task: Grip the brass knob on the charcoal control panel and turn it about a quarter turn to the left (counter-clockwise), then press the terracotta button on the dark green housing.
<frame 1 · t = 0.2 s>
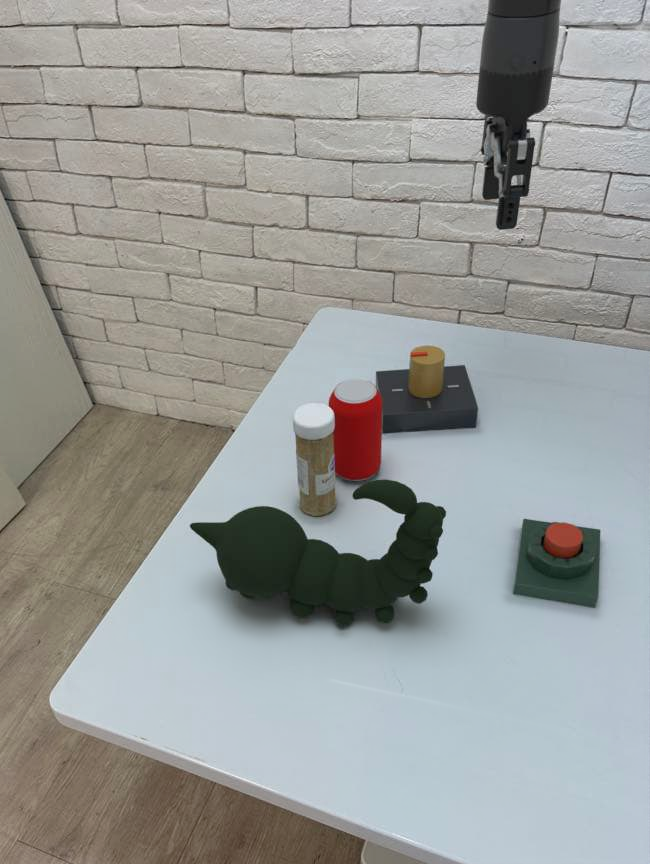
hand: (498, 212, 95), 23 cm above the table, tool pointing down, fingers open, 8 cm apart
button: (562, 540, 83), point 4 cm above the table, slide at 0.2 cm
button box: (556, 566, 86), on the table
beverage can: (355, 470, 100), on the table
knob: (426, 370, 104), point 6 cm above the table, hinge at 0.0°
panel: (423, 407, 108), on the table
spice jar: (317, 505, 96), on the table
toy figurine: (313, 600, 86), on the table
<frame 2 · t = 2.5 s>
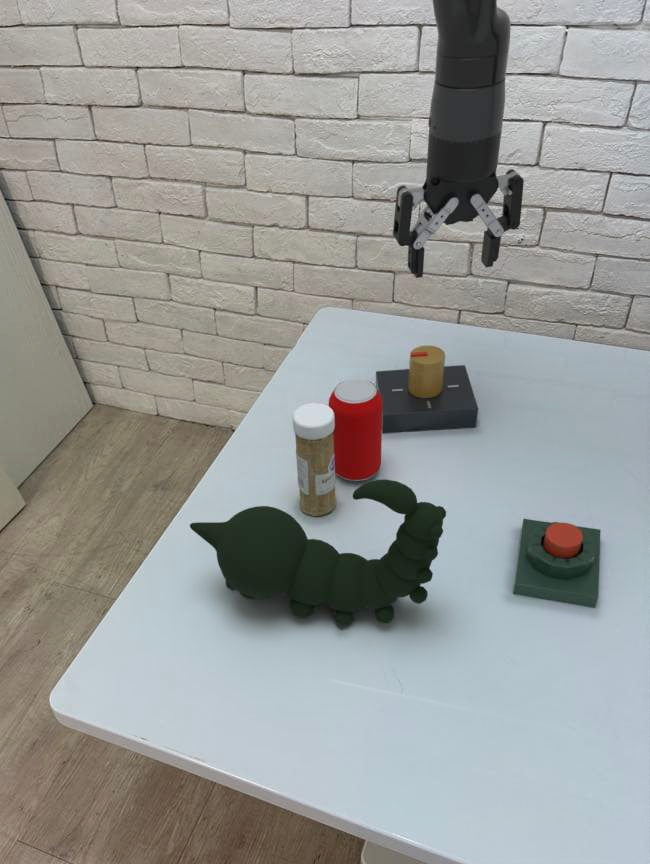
hand: (452, 269, 96), 18 cm above the table, tool pointing down, fingers open, 8 cm apart
nothing on the table moved.
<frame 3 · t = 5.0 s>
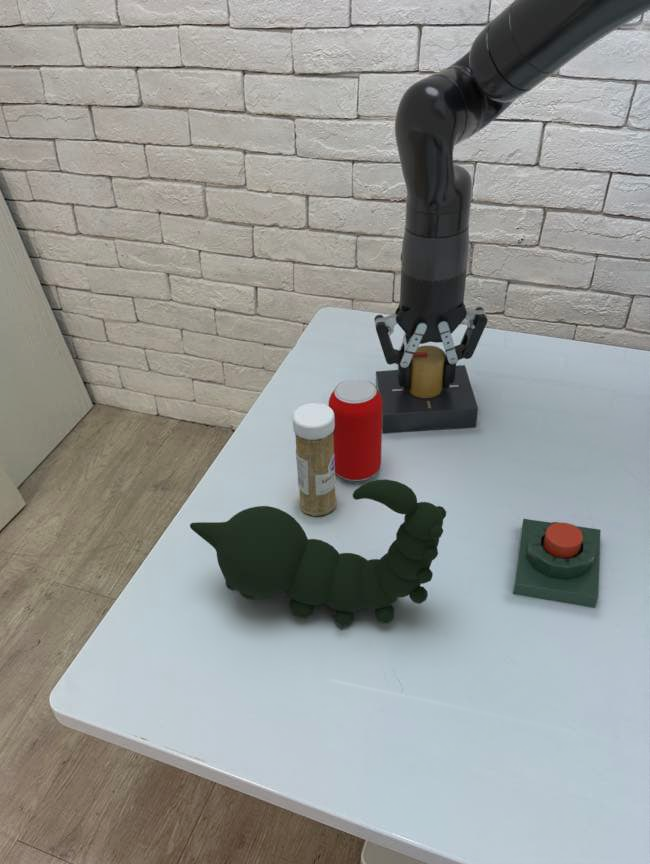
hand: (425, 385, 105), 4 cm above the table, tool pointing down, fingers closed on knob, 4 cm apart
knob: (426, 370, 104), point 6 cm above the table, hinge at 0.0°, touching gripper
everything else where it was.
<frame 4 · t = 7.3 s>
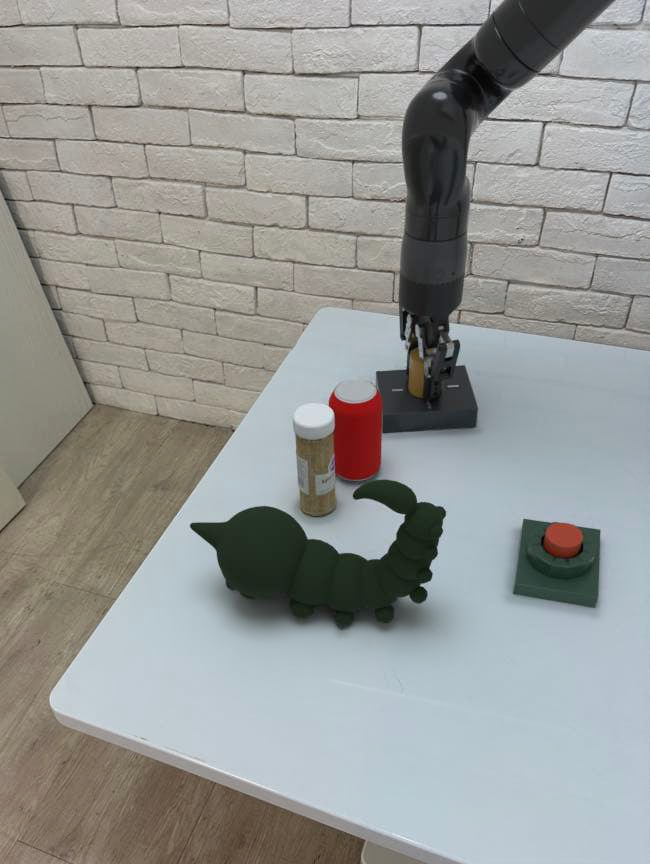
hand: (422, 386, 106), 3 cm above the table, tool pointing down, fingers open, 5 cm apart
knob: (426, 370, 104), point 6 cm above the table, hinge at 107.6°
everything else where it was.
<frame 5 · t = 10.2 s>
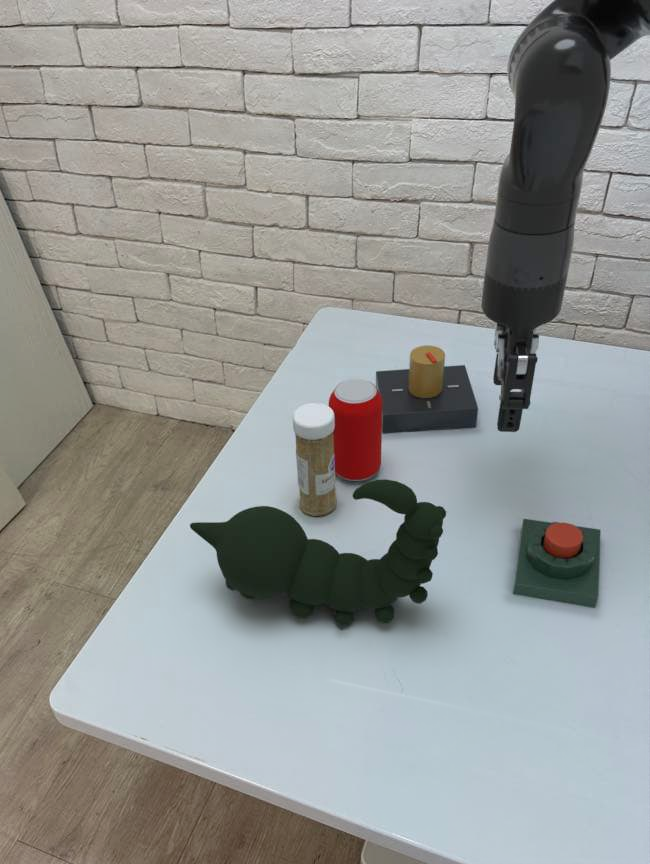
hand: (505, 405, 87), 12 cm above the table, tool pointing down, fingers open, 8 cm apart
nothing on the table moved.
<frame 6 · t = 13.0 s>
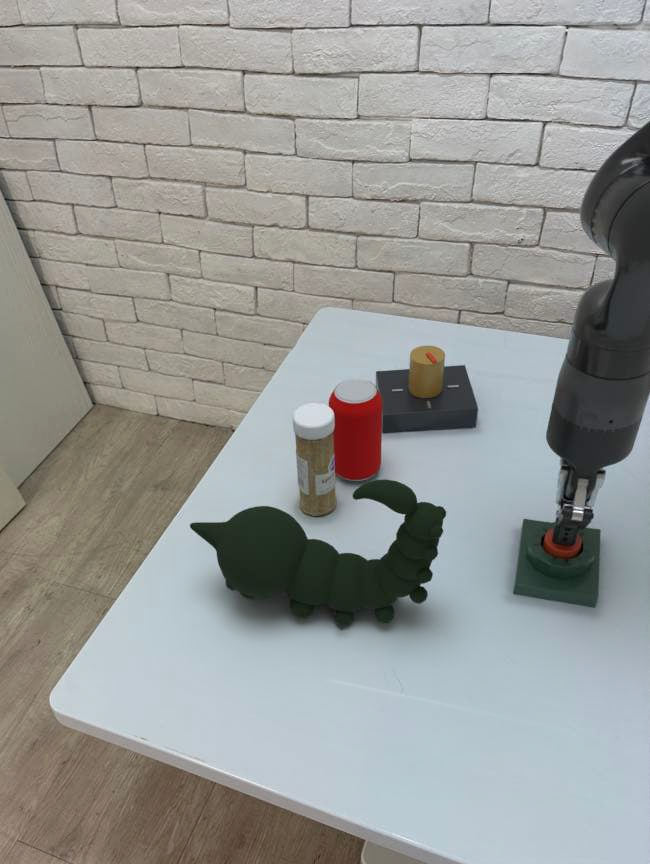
hand: (563, 539, 83), 4 cm above the table, tool pointing down, fingers closed
button: (561, 545, 83), point 3 cm above the table, slide at -0.5 cm, touching gripper
everything else where it was.
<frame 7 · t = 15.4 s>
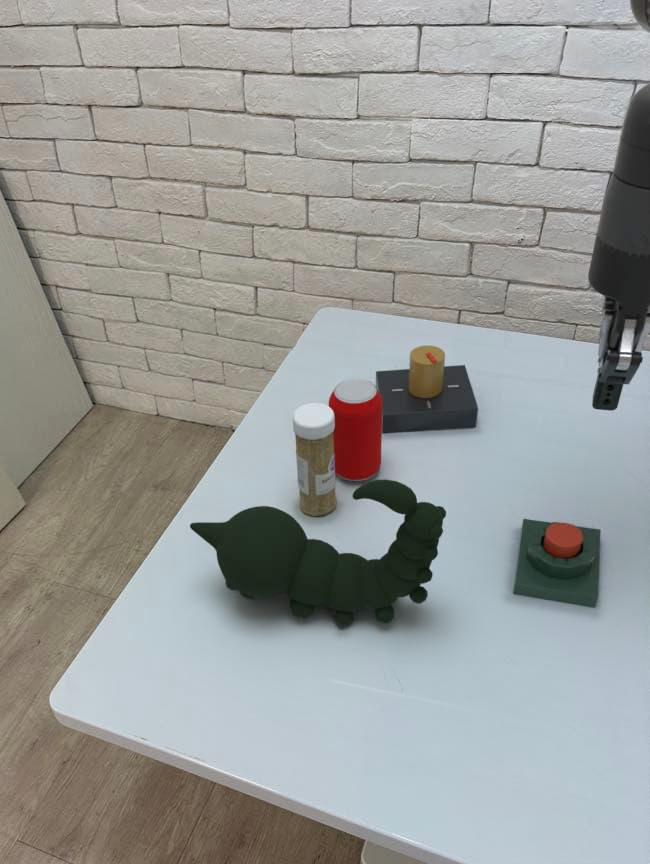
hand: (603, 405, 76), 17 cm above the table, tool pointing down, fingers closed
button: (562, 540, 83), point 4 cm above the table, slide at 0.2 cm
everything else where it was.
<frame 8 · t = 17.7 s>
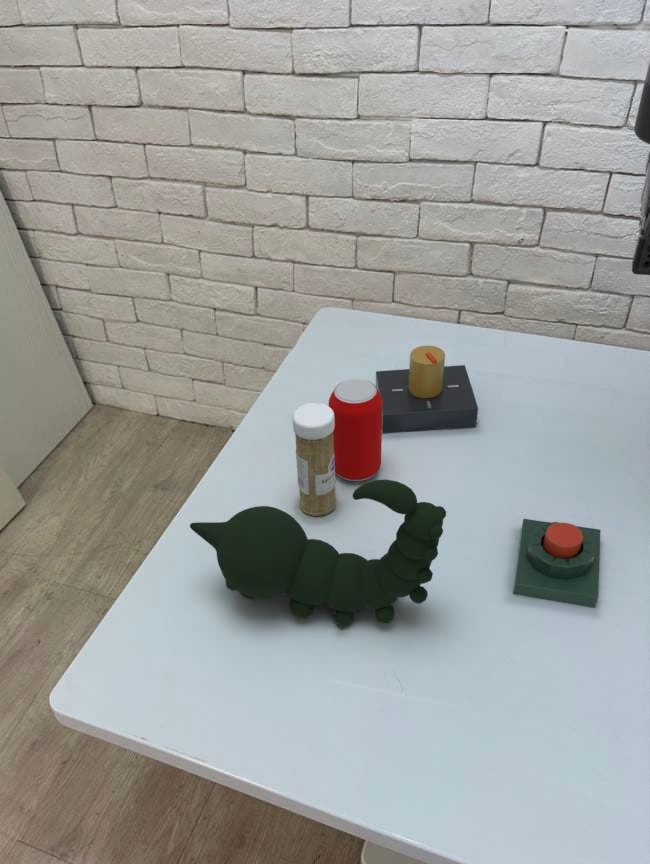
hand: (643, 270, 79), 25 cm above the table, tool pointing down, fingers closed
nothing on the table moved.
at the end: knob at +108° (first picture: +0°); button pushed in 1.1 cm at the most during the clip, back to 0.2 cm at the end; button slide at 0.2 cm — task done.
